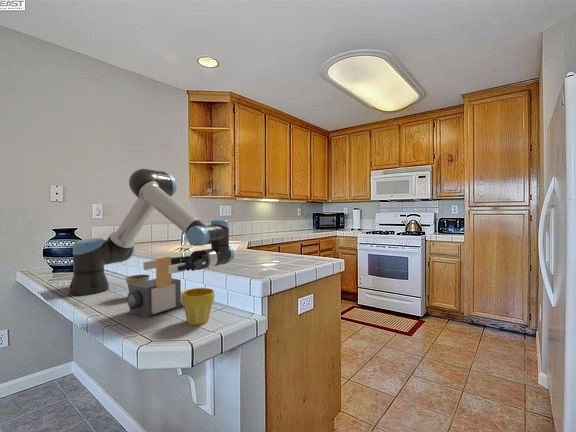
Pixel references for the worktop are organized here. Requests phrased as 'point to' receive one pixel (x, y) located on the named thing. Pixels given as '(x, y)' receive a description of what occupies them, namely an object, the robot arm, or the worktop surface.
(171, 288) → the sliding cover
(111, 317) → the worktop surface
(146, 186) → the robot arm
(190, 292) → the plant pot
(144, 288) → the camera body
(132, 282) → the flower pot
